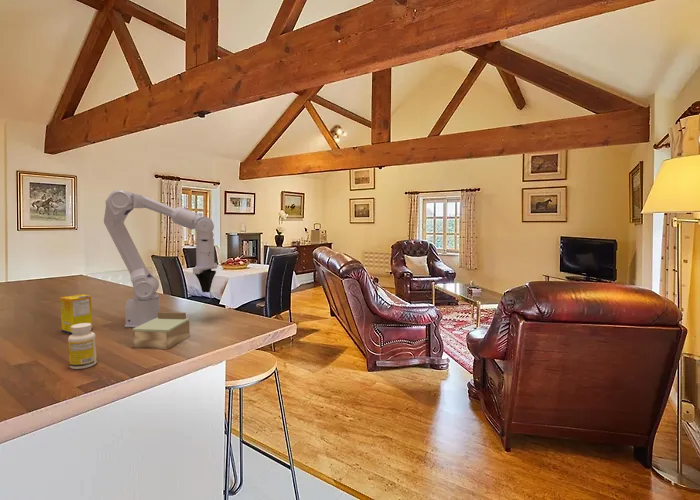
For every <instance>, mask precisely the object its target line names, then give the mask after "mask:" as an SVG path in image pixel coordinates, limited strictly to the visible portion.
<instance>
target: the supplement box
mask: <svg viewBox="0 0 700 500" xmlns="http://www.w3.org/2000/svg"><path fill="white" fill-rule="evenodd" d="M59 302H60V306H59V307H60V318H61V319H60V321H61V322H60V323H61V332H62V333H64V334H68V335H72V334H73V333H71V326H72V325H75V324H80V323H91V327H92V330H93V328H94V327H93V314H92V313H93V310H92V296H91V295H88V294H82V293H79V294H73V295H68V296H60V297H59Z"/></svg>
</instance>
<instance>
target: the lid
mask: <svg viewBox="0 0 700 500" xmlns="http://www.w3.org/2000/svg"><path fill="white" fill-rule="evenodd" d="M186 314H187V313H186V312H179V311H177V312H175V311H174V312H172V311H159V312H158V318H155V319H153V320H151V321H148V322H146V323H144V324H142V325H140V326H138V327H132V331H146V332H170V331H171V330H173V329H175V328H177V327H179V326H180V325H182V324H184V323H186V322H188V321H189V322H190V318H188V317H186ZM132 331H131V332H132Z"/></svg>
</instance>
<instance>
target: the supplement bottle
mask: <svg viewBox="0 0 700 500" xmlns="http://www.w3.org/2000/svg"><path fill="white" fill-rule="evenodd" d="M92 328H93V326H92V327H91V323H80V324H75V325H72V326H71V333H73V334H72V335H71V334H69V336H68V338H67V345H68V346H67V347H68V361H69V363H68V364H69V367H70V369H72V370H81V369H82V370H83V369H87V368H90V367H93V366H95V365H96V364H97V361H98V355H97V354H98V353H97V338H96V333H95V332H93V331H92V330H93V329H92Z"/></svg>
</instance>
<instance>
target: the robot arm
mask: <svg viewBox="0 0 700 500" xmlns="http://www.w3.org/2000/svg"><path fill="white" fill-rule="evenodd" d="M134 209H148V210H151V211H153V212H155V213H159V214H162V215H164V216H167V217H170V218H171V221H172V223H174V224H177V225H179V226H181V227H184V228H187V229H190V230H191V231H192V230H195V231H196V238H195V248H196V249H195V251H196V252H195V255H196V259H195V260H196V262H195V263H196V264H195V267H193V268H192V275H195V276H196V278H197V280H198V282H199V286H200V289H201V292H202V293H209V292H210V291H211V288H212V284H213V280H214V278H215V275H216V274H217V270H215V269H217V268H218V267H219V266H218V263H217V262H215V239H214V235H215V234H214V232H213V231H214V230H215V229H214V228H215V224H214V222H213V220H212V219H211V218H209V217H208V216H203V213H201V212H199V213H197V212H195V211H192V210H190V209H189V207H187V206H183V207H182V206H177V207H176V208H175V207H172V206H170V205H167V204H164V203H162V202H159V201H158V200H156V199H153V198H151V197H149V196H146V195H142V194H138V193H134V192H131V191H126V190H124V189H114V190H113V191H111V193H110V194H109V195H108V197H107V199H106V200H105V210H104V218H103V223H104V226H105V228H106V230H107V231H108V233H109V236H110V237H111V239H112V241H113V244H114V245H115V247H116V249H117V252H118V254H119V255H120V257H121V259H122V261H123V262H124V265H125V266H126V268H127V270H128V271H127V272H129V276H130V281H131V283H132V292H133V295H134V297H130V298H128V300H127V301H126V303H125V308H124V310H125V312H124V314H125V317H124V318H125V325H124V328H135V327H138V326H140V325H142V324H144V323H146V322H148V321H151V320H153V319H155V318H158V312H160V295H159V294H158V293H157V290H158V289H159V287H160V282H159V280H158V279H157V278H156V277H155V276H153V275H152V274H151V273H152V272H151V271H150V270H149V269H148V267H147V266H146V264H145V263H144V261H143V259H142V257H141V255H140V253H139V251H138V249H137V246H136V244H135V243H134V241H133V238H132V236H131V235H130V233H129V231H128V229H127V227H126V225H125V220H126V219H127V217H128V215H129V213H131V212H132V211H133V210H134Z"/></svg>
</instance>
